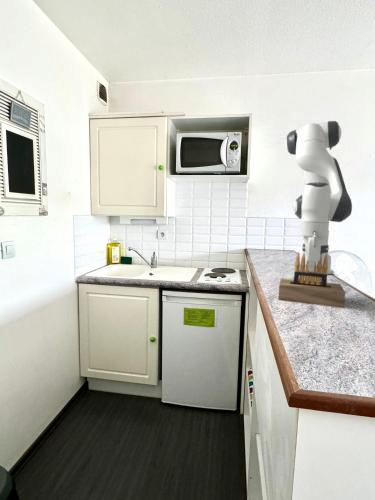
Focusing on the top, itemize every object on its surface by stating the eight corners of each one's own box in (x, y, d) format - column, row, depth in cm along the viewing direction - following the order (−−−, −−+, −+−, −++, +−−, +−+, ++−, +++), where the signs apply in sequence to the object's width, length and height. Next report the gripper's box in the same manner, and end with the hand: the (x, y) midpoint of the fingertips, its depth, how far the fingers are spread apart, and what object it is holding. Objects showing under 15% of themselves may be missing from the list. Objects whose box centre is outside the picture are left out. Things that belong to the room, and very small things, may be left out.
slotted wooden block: (280, 291, 106) (280, 278, 105) (338, 297, 99) (340, 283, 98) (278, 299, 96) (279, 285, 95) (343, 307, 89) (345, 292, 88)
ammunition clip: (326, 288, 96) (329, 253, 94) (326, 289, 94) (329, 254, 92) (293, 284, 100) (295, 251, 98) (292, 285, 98) (295, 252, 96)
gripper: (327, 233, 83) (323, 277, 85) (321, 229, 102) (318, 266, 104) (304, 232, 86) (301, 275, 88) (303, 228, 105) (300, 264, 106)
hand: (310, 270), depth 96 cm, fingers closed on ammunition clip, 1 cm apart
